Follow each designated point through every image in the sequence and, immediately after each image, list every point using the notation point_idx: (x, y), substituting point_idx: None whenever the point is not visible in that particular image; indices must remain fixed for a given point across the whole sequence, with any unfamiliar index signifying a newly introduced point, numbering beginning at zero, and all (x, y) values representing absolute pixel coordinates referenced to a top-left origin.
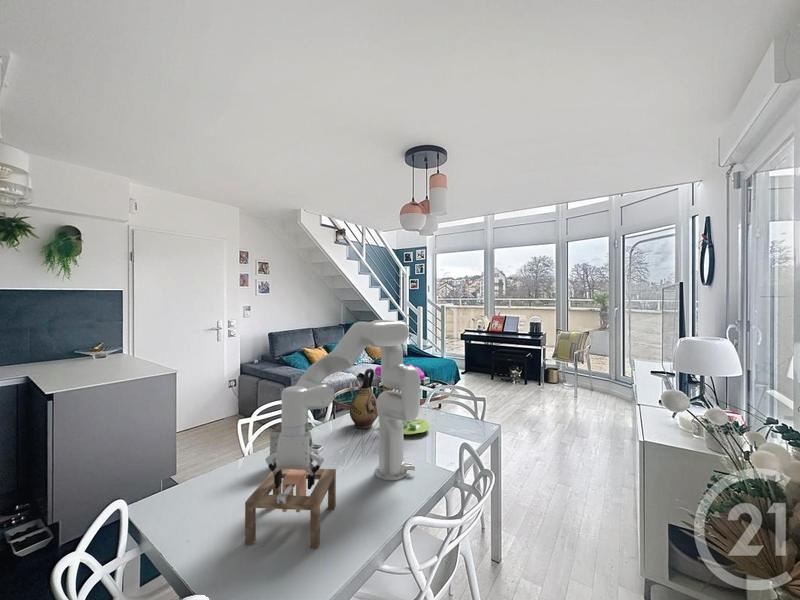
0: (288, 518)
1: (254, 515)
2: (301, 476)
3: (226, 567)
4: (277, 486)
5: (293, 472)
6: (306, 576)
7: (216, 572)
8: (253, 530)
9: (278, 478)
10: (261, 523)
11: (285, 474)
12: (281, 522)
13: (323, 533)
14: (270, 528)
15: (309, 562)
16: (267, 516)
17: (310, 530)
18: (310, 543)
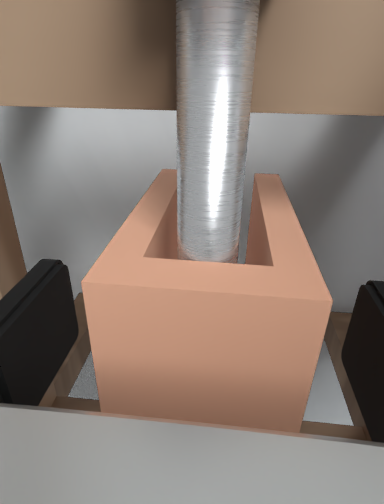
0: (173, 148)
1: (61, 384)
2: (293, 423)
3: (84, 382)
4: (70, 344)
5: (159, 341)
6: (325, 418)
7: (70, 394)
8: (88, 345)
9: (40, 387)
10: (63, 190)
11: (7, 105)
12: (151, 181)
13: (370, 254)
14: (121, 223)
15: (327, 379)
16: (59, 134)
17: (342, 389)
18: (328, 348)
